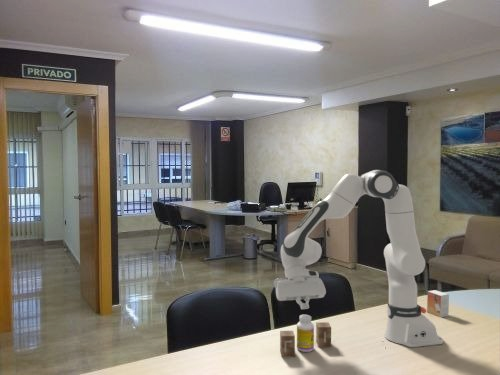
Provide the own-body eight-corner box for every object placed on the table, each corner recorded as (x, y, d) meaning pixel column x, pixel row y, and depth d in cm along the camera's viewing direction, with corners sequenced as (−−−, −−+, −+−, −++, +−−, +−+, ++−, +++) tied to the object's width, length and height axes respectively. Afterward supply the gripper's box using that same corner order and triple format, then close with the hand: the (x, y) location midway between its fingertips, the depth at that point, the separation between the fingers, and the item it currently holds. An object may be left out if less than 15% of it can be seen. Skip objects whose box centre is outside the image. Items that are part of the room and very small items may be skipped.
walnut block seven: (293, 350, 157) (293, 330, 157) (294, 357, 152) (294, 336, 152) (280, 351, 157) (280, 330, 157) (281, 357, 152) (281, 336, 152)
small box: (426, 312, 199) (427, 291, 199) (434, 310, 201) (435, 289, 201) (440, 317, 192) (440, 295, 191) (448, 315, 194) (449, 294, 194)
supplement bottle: (313, 353, 155) (313, 320, 155) (296, 352, 156) (296, 319, 156) (314, 346, 162) (314, 314, 161) (297, 344, 163) (297, 313, 162)
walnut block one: (328, 341, 166) (328, 322, 165) (331, 347, 161) (331, 327, 160) (316, 341, 166) (316, 322, 165) (318, 347, 161) (318, 327, 160)
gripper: (274, 274, 163) (281, 306, 154) (321, 271, 168) (331, 302, 159) (271, 282, 167) (278, 314, 158) (317, 279, 172) (326, 310, 163)
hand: (305, 308), depth 159 cm, fingers closed
